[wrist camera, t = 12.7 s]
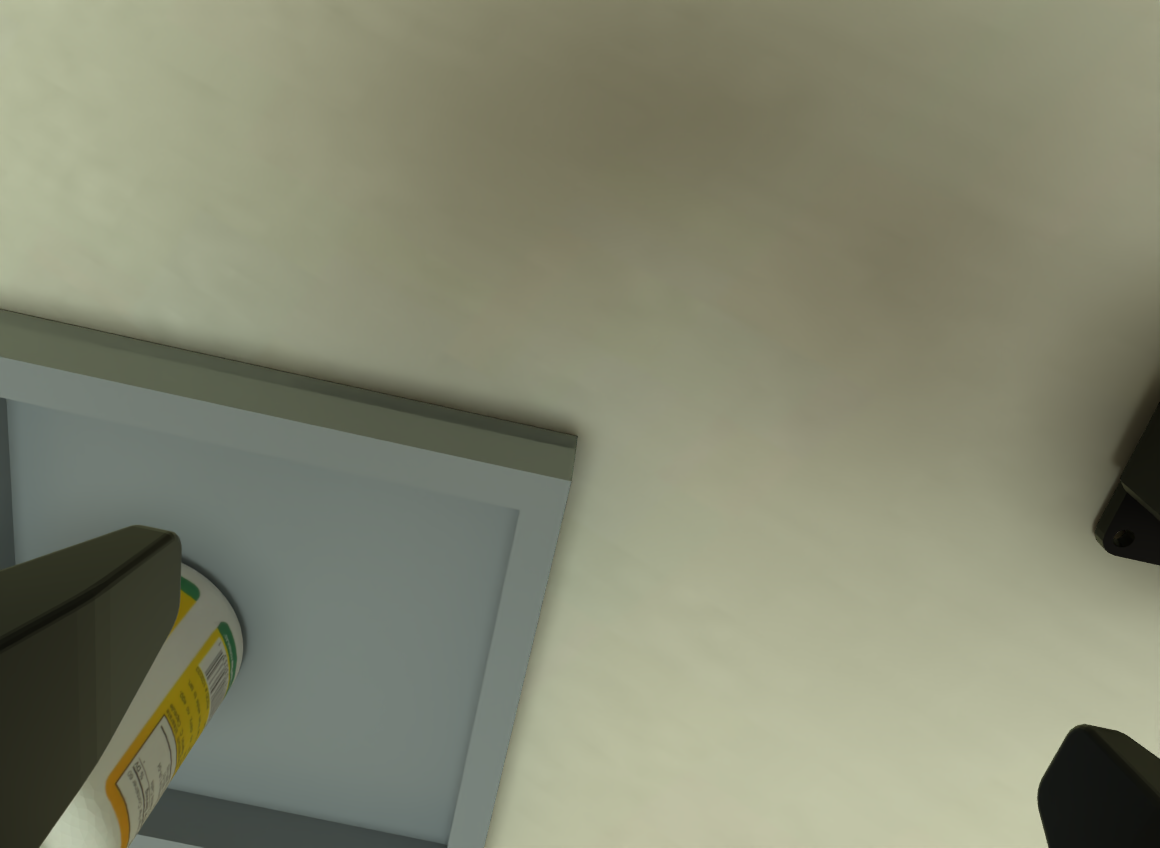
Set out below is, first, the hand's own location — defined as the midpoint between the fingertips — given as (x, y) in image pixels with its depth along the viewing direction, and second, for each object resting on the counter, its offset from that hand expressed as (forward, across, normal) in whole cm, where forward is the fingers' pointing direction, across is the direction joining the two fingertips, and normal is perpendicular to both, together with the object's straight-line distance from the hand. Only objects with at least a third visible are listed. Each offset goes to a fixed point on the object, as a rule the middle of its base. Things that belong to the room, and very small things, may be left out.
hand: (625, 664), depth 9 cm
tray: (+13, +8, +11) cm, 19 cm away
